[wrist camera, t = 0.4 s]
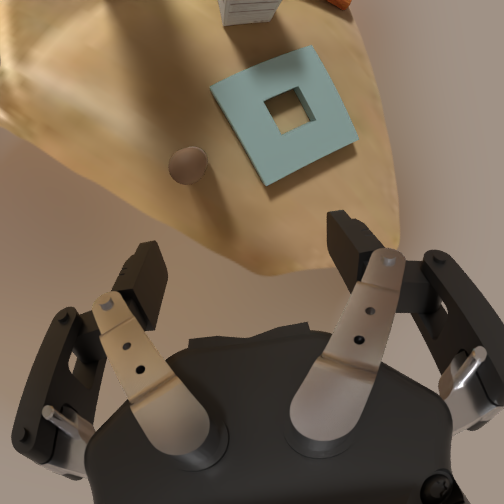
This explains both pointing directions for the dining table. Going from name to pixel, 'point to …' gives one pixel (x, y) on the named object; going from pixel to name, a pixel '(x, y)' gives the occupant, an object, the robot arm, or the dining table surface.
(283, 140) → the board
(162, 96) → the dining table surface
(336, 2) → the kendama
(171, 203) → the dining table surface
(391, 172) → the dining table surface
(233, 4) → the supplement box
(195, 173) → the peg
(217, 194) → the dining table surface
